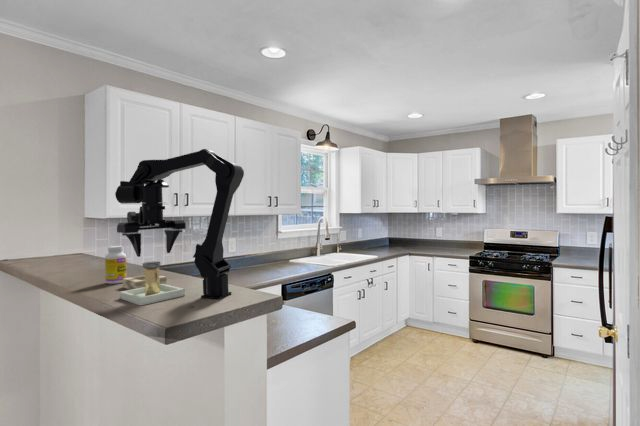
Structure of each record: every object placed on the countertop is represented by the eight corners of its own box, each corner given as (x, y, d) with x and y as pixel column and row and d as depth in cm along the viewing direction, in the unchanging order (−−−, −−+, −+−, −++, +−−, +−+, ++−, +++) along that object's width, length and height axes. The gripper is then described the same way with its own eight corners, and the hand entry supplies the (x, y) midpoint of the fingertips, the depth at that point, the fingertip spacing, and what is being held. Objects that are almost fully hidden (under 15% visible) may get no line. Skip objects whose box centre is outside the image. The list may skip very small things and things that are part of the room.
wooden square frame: (166, 285, 126) (166, 276, 126) (136, 291, 119) (136, 281, 119) (152, 282, 133) (152, 273, 133) (123, 287, 125) (122, 278, 125)
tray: (184, 295, 111) (184, 288, 111) (140, 305, 101) (140, 298, 101) (163, 290, 120) (162, 283, 120) (120, 298, 110) (119, 291, 110)
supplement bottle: (118, 284, 130) (116, 247, 130) (101, 284, 132) (100, 247, 131) (131, 280, 137) (130, 245, 136) (115, 280, 138) (114, 245, 138)
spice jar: (165, 293, 112) (164, 261, 112) (153, 297, 108) (151, 264, 107) (152, 292, 114) (151, 261, 113) (139, 296, 109) (138, 263, 109)
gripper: (167, 203, 125) (169, 249, 126) (107, 203, 111) (109, 256, 111) (186, 202, 118) (187, 251, 119) (124, 203, 104) (126, 259, 104)
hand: (154, 254), depth 113 cm, fingers open, 9 cm apart
